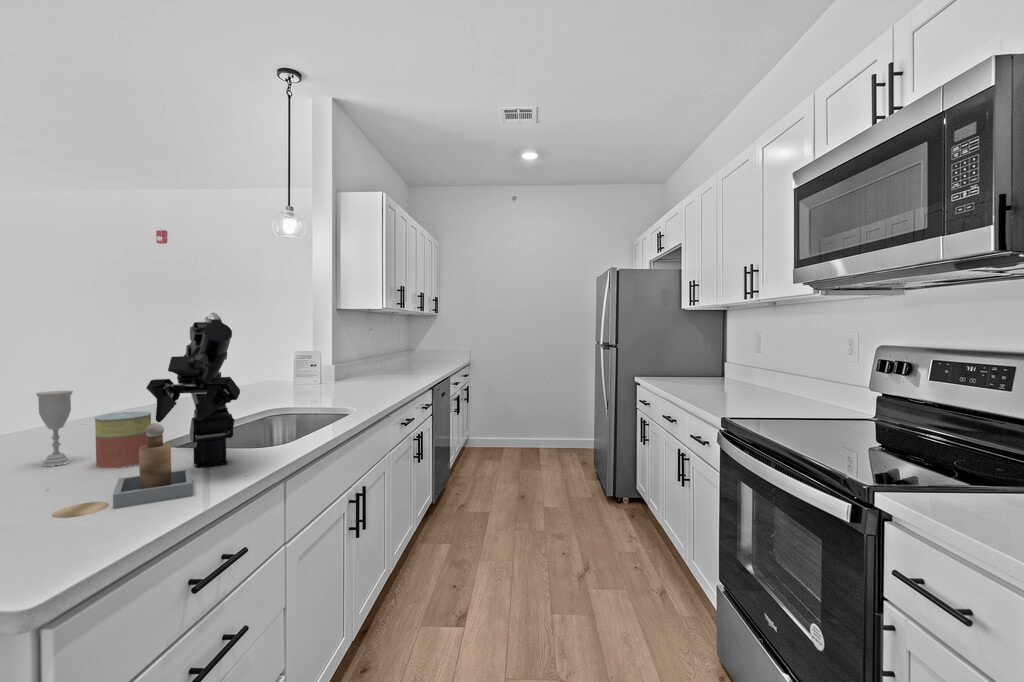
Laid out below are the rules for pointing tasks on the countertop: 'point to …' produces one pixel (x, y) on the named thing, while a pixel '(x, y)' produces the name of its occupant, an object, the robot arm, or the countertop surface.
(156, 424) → the pepper mill
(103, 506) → the coaster
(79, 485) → the countertop surface
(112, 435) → the canned food
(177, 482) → the tray
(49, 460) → the chalice
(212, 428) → the robot arm
